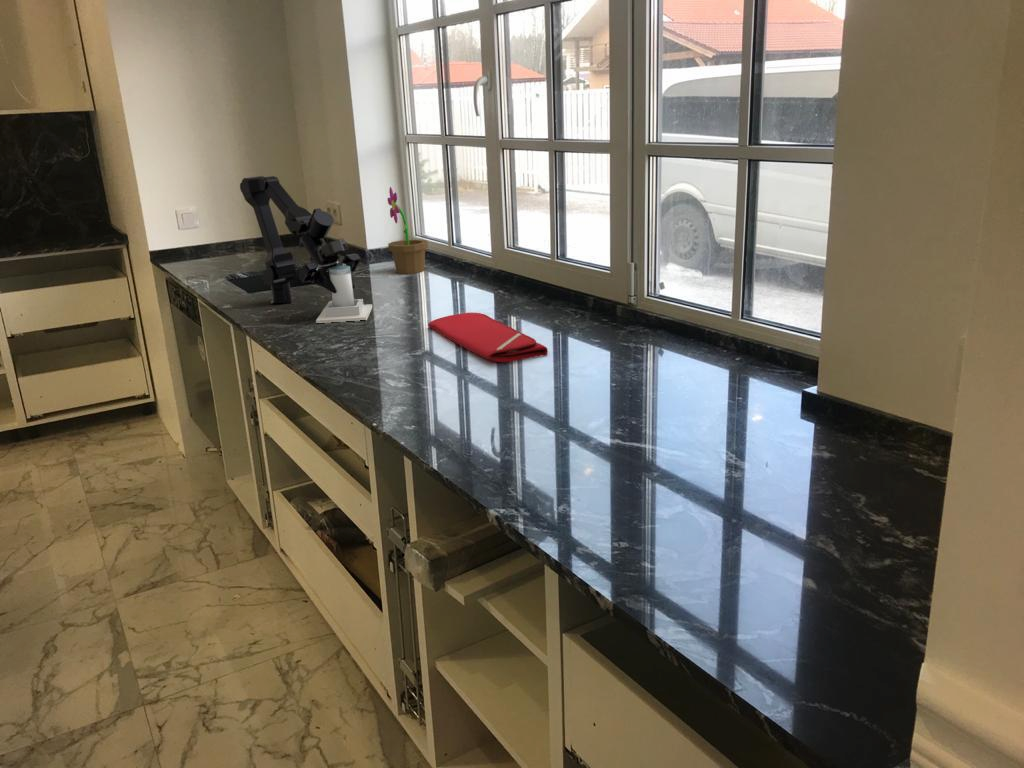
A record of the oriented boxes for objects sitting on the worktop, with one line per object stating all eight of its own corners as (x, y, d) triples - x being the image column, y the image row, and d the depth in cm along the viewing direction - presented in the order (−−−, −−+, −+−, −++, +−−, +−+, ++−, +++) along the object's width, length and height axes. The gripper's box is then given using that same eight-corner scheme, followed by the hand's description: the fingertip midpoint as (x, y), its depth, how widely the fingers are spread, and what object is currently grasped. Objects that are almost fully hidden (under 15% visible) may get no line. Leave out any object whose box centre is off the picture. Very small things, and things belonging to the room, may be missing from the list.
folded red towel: (481, 320, 234) (480, 307, 233) (550, 356, 198) (549, 341, 197) (427, 329, 228) (426, 315, 227) (488, 368, 192) (487, 352, 191)
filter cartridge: (335, 310, 248) (330, 266, 244) (356, 309, 249) (351, 265, 244) (332, 315, 243) (327, 270, 239) (353, 313, 243) (348, 269, 239)
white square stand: (325, 310, 253) (323, 299, 252) (372, 307, 254) (371, 296, 253) (316, 324, 238) (314, 311, 237) (366, 320, 239) (364, 308, 237)
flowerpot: (385, 270, 309) (376, 186, 299) (422, 265, 314) (415, 182, 304) (397, 277, 296) (388, 189, 286) (436, 271, 302) (428, 185, 292)
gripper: (298, 235, 234) (327, 278, 231) (353, 225, 247) (381, 266, 243) (287, 261, 242) (314, 303, 238) (340, 250, 255) (367, 290, 251)
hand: (344, 290), depth 243 cm, fingers closed on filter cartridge, 6 cm apart
